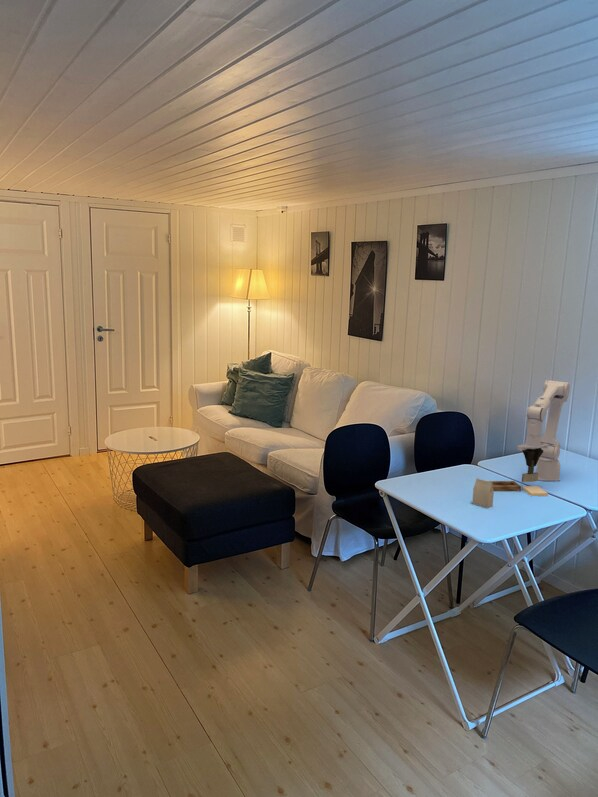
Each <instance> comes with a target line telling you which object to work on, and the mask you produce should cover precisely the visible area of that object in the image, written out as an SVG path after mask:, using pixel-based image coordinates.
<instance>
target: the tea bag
mask: <svg viewBox="0 0 598 797" xmlns="http://www.w3.org/2000/svg"><path fill="white" fill-rule="evenodd" d="M489 481H490V480H485V479H480V478H476V480H475V482H474V486H473V490H472V491H473V492H472V501H471V502H472V503H471V504H473V505H477V506H478V507H479V506H480V507H482V508H483V507H484V508H486V509H490V508H491V507H493V503H494V493H495V491H494V490H493V482H489Z"/></svg>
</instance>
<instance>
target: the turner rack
mask: <svg viewBox="0 0 598 797" xmlns="http://www.w3.org/2000/svg"><path fill="white" fill-rule="evenodd" d="M488 481H489V482H493V490H494V492H521V491H522V485H520V484H518V482H516V481H515V480H488ZM518 490H520V491H518Z"/></svg>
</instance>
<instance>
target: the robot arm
mask: <svg viewBox="0 0 598 797" xmlns="http://www.w3.org/2000/svg"><path fill="white" fill-rule="evenodd" d="M570 385H571V384H570V383H569V382H568V381H557V380H549V379H546V380H545V381H544V383H543V388H542V389H543V394H542V395H541V396H539V397H538V398H537V399H536V400H535V402H534V403H533V404H532V405H530V406H528V407H527V409H526V415H525V417H526V424H527V429H526V430H527V431H526V440H525V442H524V443H523V444H520V445H519V444H518V445H517V449H516V450H517V451H520V452H522V454H523V456H524V459H525V464H526V467H528V466H529V467H531V465H532V460H535V464H534V467H535V468H536V469H535V473H538V480H537V481H540V482H541V481H543V482H546V481H547V482H548V481H551V482H552V481H553V482H554V481H555V482H556V481H558V482H559V481H561V479H560V475H561V474H560V473H561V462H560V460H559V457H560V454H561V444H560V442H559V441H558V440H557V439H556V435H557V431H558V426H559V423H560V422H559V421H560V416H561V412H562V408H563V405H564V403H567V402H568V399H569V396H570V390H571V386H570ZM548 410H549V411H548ZM547 411H548V415H547ZM546 415H547V419H546V424H545V428H544V433H543V424H544V423H543V422H544V421H545V418H546ZM542 433H543V435H542Z"/></svg>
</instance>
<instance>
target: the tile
mask: <svg viewBox="0 0 598 797" xmlns="http://www.w3.org/2000/svg"><path fill="white" fill-rule="evenodd" d="M522 489H523V490H524V491H523V490H522ZM521 490H522V491H523V492H524V493H526V492H527V493H528V494H527V493H526V494H527V495H528V496H530V495H531V496H538V497H549V496H548V495H549V493H548V492H547V491H545V489H543V488H541V486H538V485H521ZM531 496H530V497H531Z"/></svg>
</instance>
